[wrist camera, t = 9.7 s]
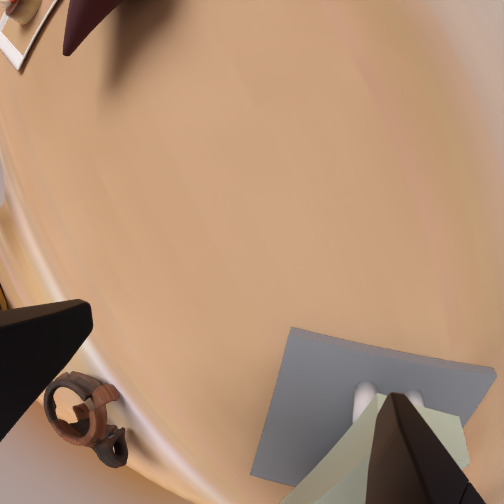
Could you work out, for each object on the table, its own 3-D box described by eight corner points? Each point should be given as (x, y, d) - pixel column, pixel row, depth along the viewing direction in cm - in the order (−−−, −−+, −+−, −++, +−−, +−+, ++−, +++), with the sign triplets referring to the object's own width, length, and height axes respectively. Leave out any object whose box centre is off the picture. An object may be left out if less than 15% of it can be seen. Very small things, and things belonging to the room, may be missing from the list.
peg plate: (493, 367, 17) (509, 401, 14) (397, 494, 23) (396, 523, 20) (291, 326, 21) (278, 361, 17) (252, 467, 27) (240, 497, 23)
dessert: (86, -29, 17) (52, -43, 13) (25, 72, 22) (-11, 69, 18) (46, -43, 17) (18, -53, 13) (-2, 38, 22) (-31, 35, 18)
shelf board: (459, 416, 15) (470, 462, 11) (343, 517, 21) (337, 550, 17) (377, 392, 16) (377, 444, 12) (280, 501, 22) (269, 535, 18)
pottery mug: (68, 387, 34) (26, 395, 26) (111, 349, 34) (69, 353, 26) (121, 464, 31) (86, 488, 23) (172, 433, 31) (141, 458, 23)
